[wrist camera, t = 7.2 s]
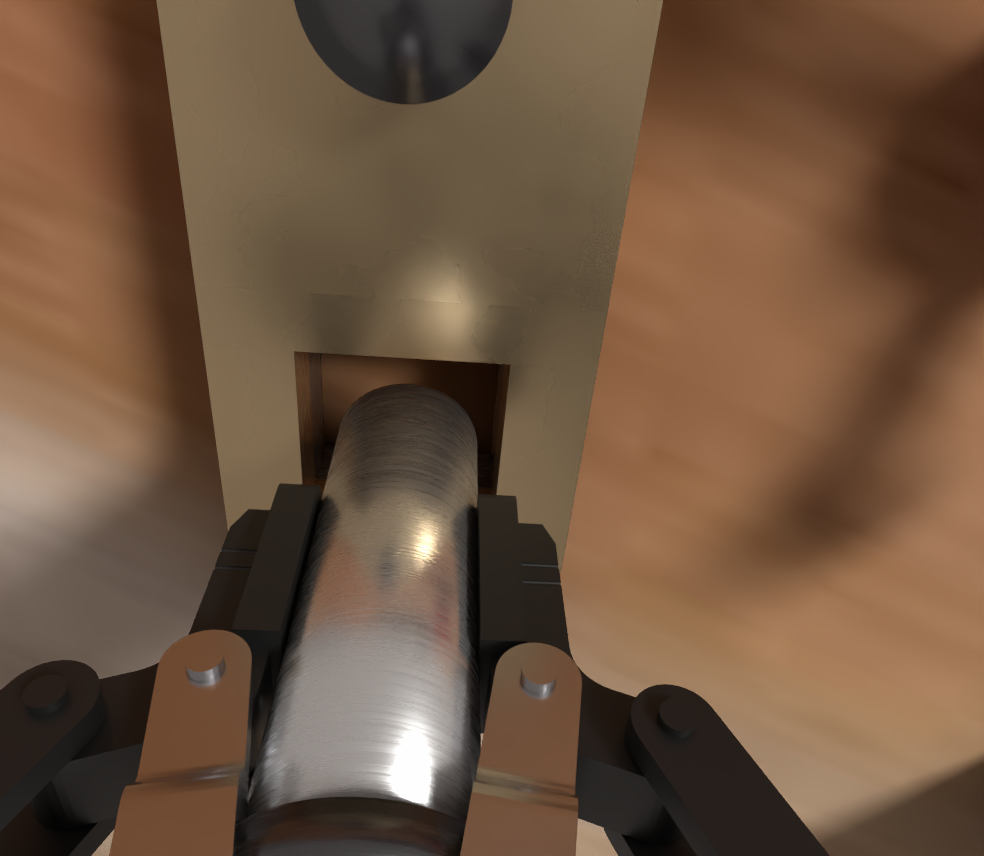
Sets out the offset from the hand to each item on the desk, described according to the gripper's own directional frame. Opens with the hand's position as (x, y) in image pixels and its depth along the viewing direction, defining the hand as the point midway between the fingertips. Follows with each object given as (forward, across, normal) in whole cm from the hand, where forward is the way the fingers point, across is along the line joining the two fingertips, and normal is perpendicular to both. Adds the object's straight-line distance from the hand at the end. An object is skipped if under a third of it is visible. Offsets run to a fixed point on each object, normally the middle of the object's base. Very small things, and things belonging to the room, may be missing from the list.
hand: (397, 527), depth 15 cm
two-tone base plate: (+6, 0, 0) cm, 6 cm away
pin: (+3, 0, 0) cm, 3 cm away
